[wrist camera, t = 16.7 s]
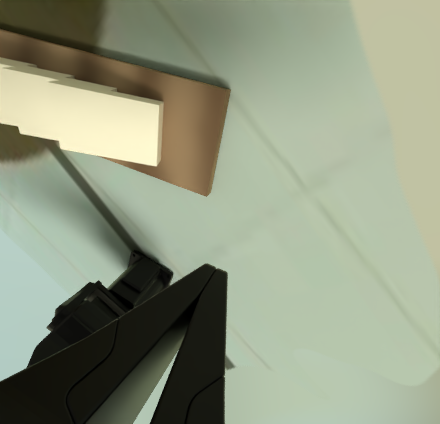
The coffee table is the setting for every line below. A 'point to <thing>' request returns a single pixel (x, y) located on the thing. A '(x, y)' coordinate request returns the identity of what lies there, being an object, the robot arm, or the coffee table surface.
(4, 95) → the ivory domino
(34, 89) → the ivory domino
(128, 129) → the ivory domino
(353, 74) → the coffee table surface
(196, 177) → the walnut board
